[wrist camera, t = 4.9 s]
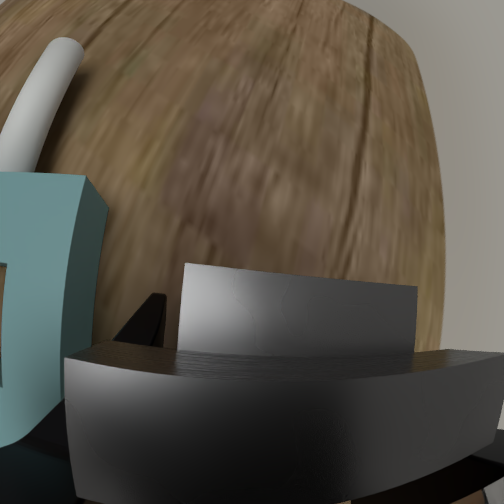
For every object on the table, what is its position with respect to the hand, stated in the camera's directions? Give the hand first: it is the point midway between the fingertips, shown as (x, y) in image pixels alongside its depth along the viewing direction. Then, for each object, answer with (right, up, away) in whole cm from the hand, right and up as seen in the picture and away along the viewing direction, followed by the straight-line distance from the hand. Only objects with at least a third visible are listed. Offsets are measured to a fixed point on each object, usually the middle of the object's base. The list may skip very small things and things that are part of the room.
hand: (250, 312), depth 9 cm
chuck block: (-14, +3, +5) cm, 15 cm away
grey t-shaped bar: (-2, -3, +7) cm, 7 cm away
